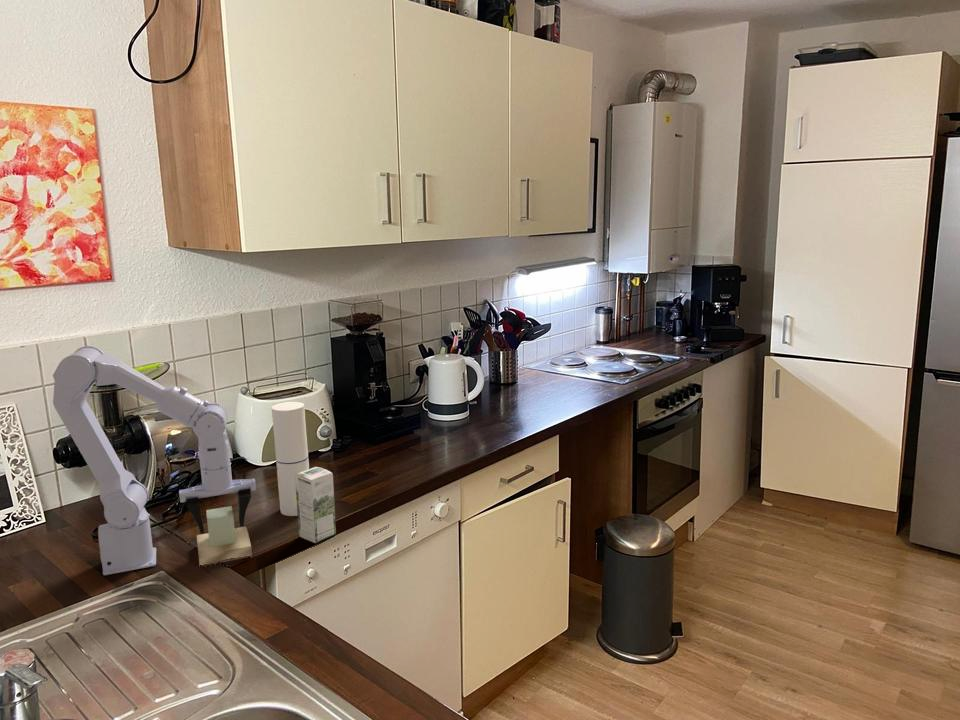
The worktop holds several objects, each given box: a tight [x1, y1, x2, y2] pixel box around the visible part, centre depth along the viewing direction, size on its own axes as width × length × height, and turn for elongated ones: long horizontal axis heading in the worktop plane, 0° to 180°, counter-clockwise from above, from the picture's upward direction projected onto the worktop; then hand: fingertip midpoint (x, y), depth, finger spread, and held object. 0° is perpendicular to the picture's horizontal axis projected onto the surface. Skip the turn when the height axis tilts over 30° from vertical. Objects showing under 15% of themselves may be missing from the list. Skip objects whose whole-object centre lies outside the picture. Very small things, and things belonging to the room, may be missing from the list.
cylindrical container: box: [271, 401, 310, 517], centre depth 171 cm, size 7×7×25 cm
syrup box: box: [295, 466, 337, 544], centre depth 159 cm, size 6×6×14 cm
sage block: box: [205, 505, 236, 547], centre depth 153 cm, size 5×5×6 cm
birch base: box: [196, 526, 253, 566], centre depth 154 cm, size 10×10×3 cm
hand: (222, 528), depth 153 cm, fingers open, 7 cm apart
